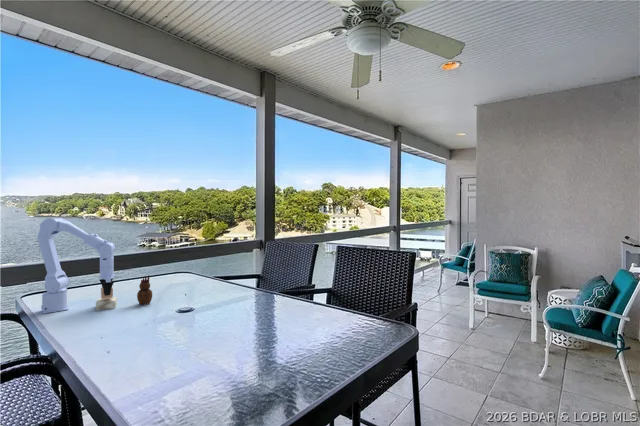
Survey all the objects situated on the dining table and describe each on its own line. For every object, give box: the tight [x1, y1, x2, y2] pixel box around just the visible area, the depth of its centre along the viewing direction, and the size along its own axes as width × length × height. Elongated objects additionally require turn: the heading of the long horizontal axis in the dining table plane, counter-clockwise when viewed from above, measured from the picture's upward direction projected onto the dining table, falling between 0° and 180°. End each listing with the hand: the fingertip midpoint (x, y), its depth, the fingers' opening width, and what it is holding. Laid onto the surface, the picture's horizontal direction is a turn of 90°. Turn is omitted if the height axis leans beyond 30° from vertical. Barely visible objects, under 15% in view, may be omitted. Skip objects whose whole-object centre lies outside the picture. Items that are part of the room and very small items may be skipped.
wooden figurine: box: [136, 274, 153, 306], centre depth 167 cm, size 7×6×15 cm
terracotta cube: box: [100, 287, 114, 299], centre depth 161 cm, size 4×4×4 cm
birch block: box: [95, 296, 118, 311], centre depth 161 cm, size 8×8×4 cm
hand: (106, 294), depth 161 cm, fingers closed on terracotta cube, 4 cm apart
